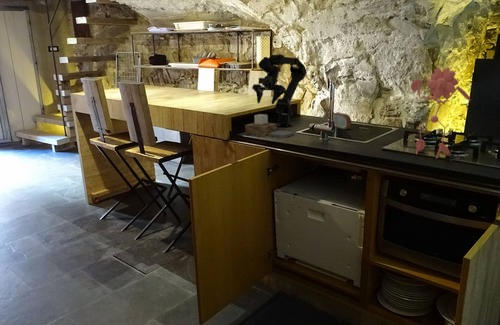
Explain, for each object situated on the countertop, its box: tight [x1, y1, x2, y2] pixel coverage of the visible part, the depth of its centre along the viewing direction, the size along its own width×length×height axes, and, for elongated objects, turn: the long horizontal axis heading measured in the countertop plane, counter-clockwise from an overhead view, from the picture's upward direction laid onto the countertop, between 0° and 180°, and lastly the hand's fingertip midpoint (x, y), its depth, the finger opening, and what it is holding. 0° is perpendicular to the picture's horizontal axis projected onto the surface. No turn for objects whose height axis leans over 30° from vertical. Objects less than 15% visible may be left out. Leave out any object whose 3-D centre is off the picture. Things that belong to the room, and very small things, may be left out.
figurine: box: [410, 67, 471, 162], centre depth 164 cm, size 15×26×35 cm, turn 34°
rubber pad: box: [268, 129, 296, 139], centre depth 211 cm, size 10×10×2 cm
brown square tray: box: [244, 122, 278, 137], centre depth 217 cm, size 12×12×5 cm
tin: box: [332, 111, 352, 130], centre depth 226 cm, size 15×3×8 cm, turn 25°
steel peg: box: [254, 113, 269, 126], centre depth 216 cm, size 5×5×8 cm
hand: (265, 103), depth 219 cm, fingers open, 9 cm apart
